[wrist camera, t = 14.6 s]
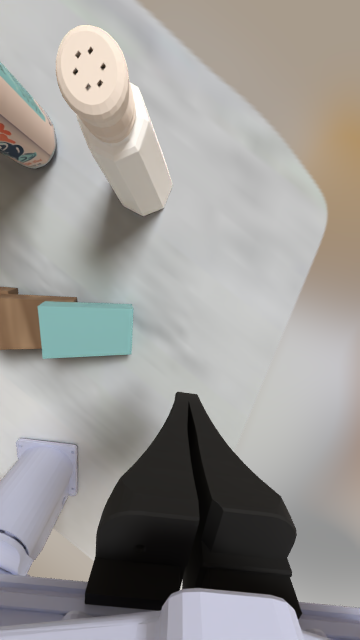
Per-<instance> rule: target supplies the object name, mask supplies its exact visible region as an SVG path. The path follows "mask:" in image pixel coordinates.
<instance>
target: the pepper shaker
mask: <svg viewBox="0 0 360 640" xmlns="http://www.w3.org/2000/svg"><path fill="white" fill-rule="evenodd" d="M56 76H57V81H58V86H59V88H60V91H61V93H62V96H63V98H64V99H65V101H66V102H67V104H68V105H69V106H70V108H71V109H72V110H73V111H74V112H75V113H76V114H77V119H78V122H79V125H80V127H81V130H82V132H83V135H84V137H85V140H86V142H87V145H88V147H89V149H90V151H91V153H92V155H93V157H94V159H95V160H96V162H97V163H98V165H99V167H100V168H101V170H102V172H103V173H104V175H105V177H106V178H107V180H108V182H109V183H110V185H111V187H112V188H113V190H114V192H115V193H116V195H117V197H118V198H119V200H120V202H121V203H122V205H123V206H125V207H126V208H128V209H130V210H132V211H134V212H136V213H138V214H140V215H142V216H145V215H148V214H150V213H153V212H155V211H158V210H160V209H163V208H164V206H165V204H166V201H167V199H168V196H169V194H170V191H171V189H172V186H173V184H172V181H171V177H170V174H169V171H168V168H167V165H166V161H165V158H164V156H163V153H162V150H161V147H160V144H159V142H158V139H157V136H156V133H155V130H154V128H153V125H152V122H151V119H150V117H149V114H148V111H147V108H146V105H145V103H144V100H143V97H142V95H141V93H140V90H139V88H138V87H137V86H135V85H133V84H132V83H130V81H129V75H128V68H127V64H126V61H125V58H124V55H123V52H122V51H121V49H120V47H119V45H118V44H117V42H116V41H115V40H114V39H113V38H112V37H111V36H110V35H109V34H108V33H107V32H105V31H104V30H102V29H100V28H98V27H95V26H91V25H82V26H78V27H76V28H74V29H72V30H70V31H69V32H68V33H67V34H66V36H65V37H64V38H63V40H62V42H61V44H60V46H59V49H58V53H57V58H56Z"/></svg>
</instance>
